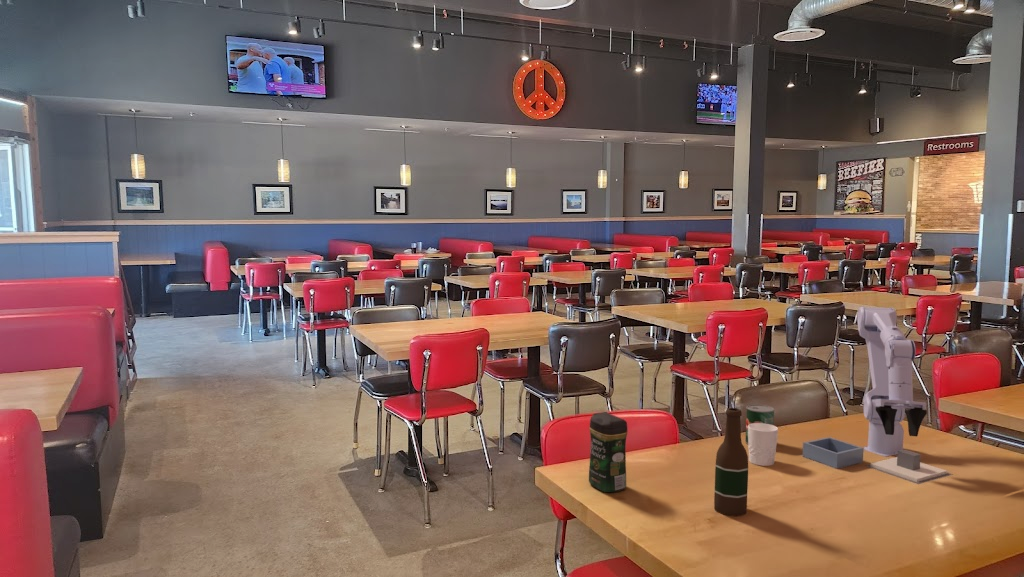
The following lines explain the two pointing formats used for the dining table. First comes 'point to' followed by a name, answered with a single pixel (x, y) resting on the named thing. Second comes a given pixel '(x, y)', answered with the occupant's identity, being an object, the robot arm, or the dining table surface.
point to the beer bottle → (731, 469)
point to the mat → (911, 480)
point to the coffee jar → (608, 452)
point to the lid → (908, 466)
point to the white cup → (762, 443)
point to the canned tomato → (758, 416)
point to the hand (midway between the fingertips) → (901, 435)
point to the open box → (833, 452)
